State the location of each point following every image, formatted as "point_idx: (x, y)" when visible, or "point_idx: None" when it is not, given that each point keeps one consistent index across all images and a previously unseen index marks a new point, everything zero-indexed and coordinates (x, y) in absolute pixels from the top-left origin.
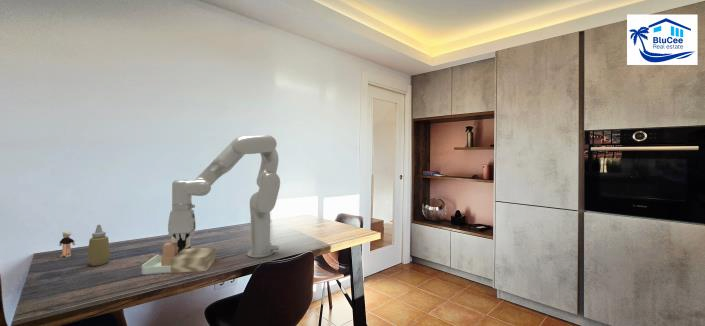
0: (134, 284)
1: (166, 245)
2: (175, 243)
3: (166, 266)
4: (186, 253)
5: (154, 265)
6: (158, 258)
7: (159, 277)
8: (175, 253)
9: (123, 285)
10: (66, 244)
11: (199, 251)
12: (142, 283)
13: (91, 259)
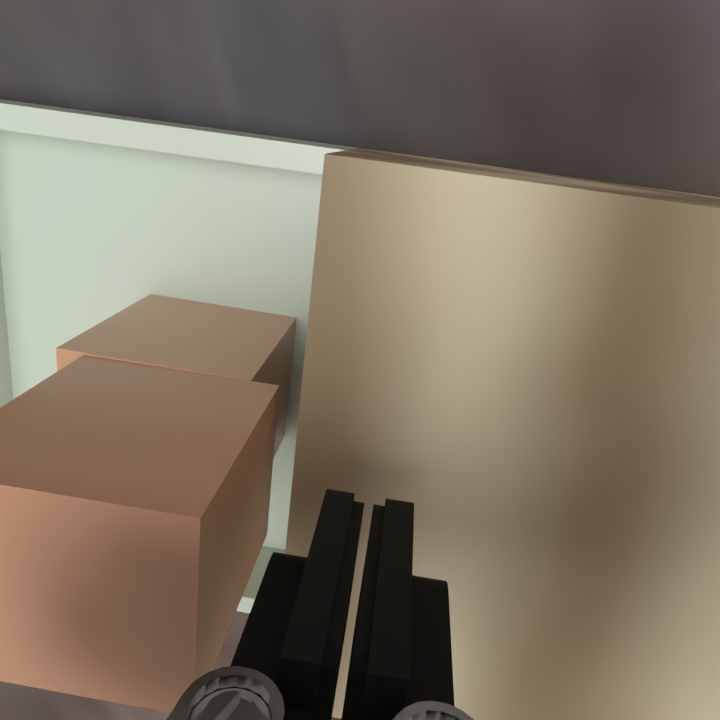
0: (86, 710)
1: (20, 678)
2: (174, 608)
3: (243, 608)
4: (458, 523)
5: (1, 259)
6: None
7: (237, 634)
8: (261, 506)
9: (5, 699)
10: None
11: (704, 478)
12: (143, 713)
13: None
